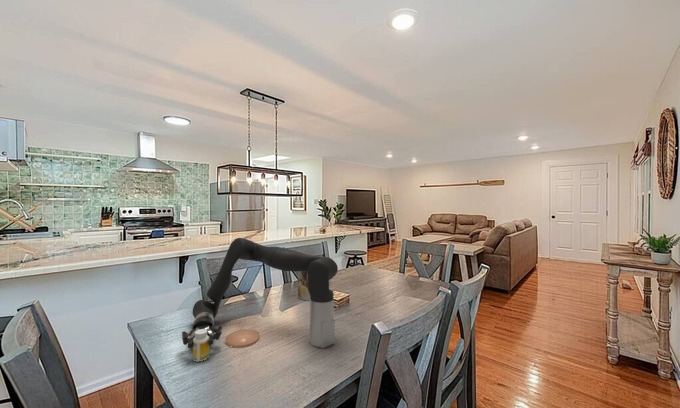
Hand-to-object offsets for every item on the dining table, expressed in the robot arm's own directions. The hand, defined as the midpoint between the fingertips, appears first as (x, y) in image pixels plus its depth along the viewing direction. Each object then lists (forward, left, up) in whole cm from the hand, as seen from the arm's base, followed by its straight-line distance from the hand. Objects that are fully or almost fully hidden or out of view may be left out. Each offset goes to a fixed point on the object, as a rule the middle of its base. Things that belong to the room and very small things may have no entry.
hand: (200, 344), depth 104 cm
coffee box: (+29, -66, -6) cm, 72 cm away
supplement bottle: (+2, -1, -6) cm, 7 cm away
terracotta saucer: (+6, -18, -6) cm, 20 cm away
